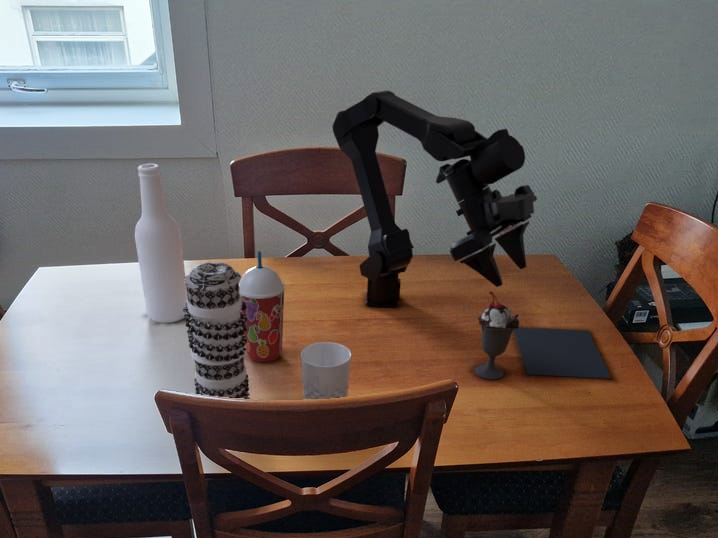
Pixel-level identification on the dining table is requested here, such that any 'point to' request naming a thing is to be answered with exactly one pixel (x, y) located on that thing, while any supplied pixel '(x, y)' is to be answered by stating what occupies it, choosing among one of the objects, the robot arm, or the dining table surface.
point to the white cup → (325, 370)
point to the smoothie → (263, 311)
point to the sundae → (495, 337)
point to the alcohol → (159, 252)
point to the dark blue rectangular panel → (560, 353)
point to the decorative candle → (217, 330)
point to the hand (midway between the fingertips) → (512, 276)
